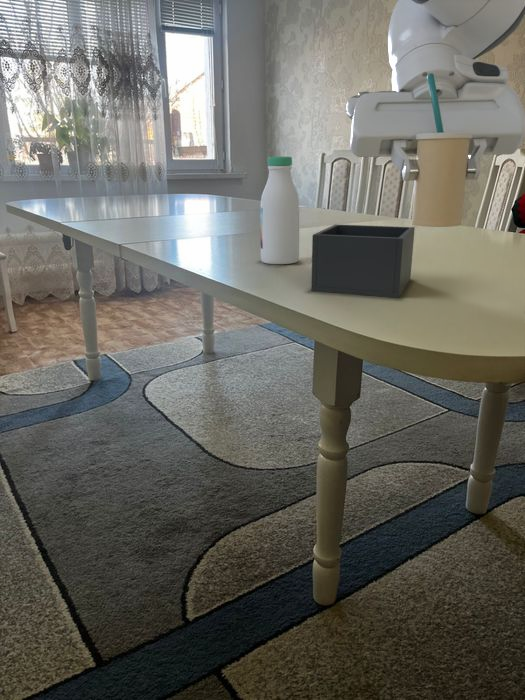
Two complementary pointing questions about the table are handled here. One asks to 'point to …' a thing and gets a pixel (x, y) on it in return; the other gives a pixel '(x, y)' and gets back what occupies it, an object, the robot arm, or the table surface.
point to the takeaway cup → (440, 172)
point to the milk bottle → (279, 214)
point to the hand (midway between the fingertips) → (441, 176)
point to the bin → (362, 260)
